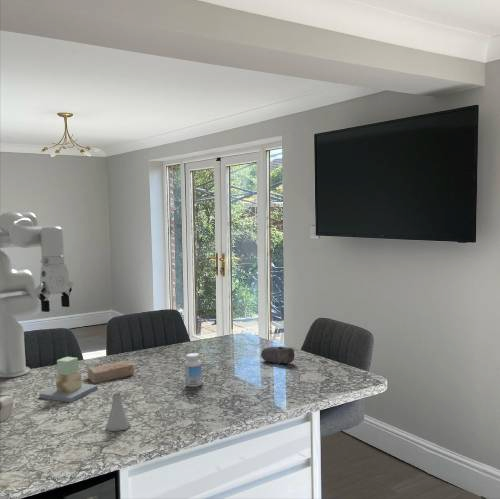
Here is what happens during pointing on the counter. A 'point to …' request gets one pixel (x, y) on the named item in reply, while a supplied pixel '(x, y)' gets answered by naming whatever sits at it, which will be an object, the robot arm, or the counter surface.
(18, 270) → the robot arm
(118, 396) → the flask
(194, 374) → the pill bottle
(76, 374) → the beech block
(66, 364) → the sage block
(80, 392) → the board
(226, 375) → the counter surface
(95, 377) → the brick
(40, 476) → the counter surface
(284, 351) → the perforated stone tool
